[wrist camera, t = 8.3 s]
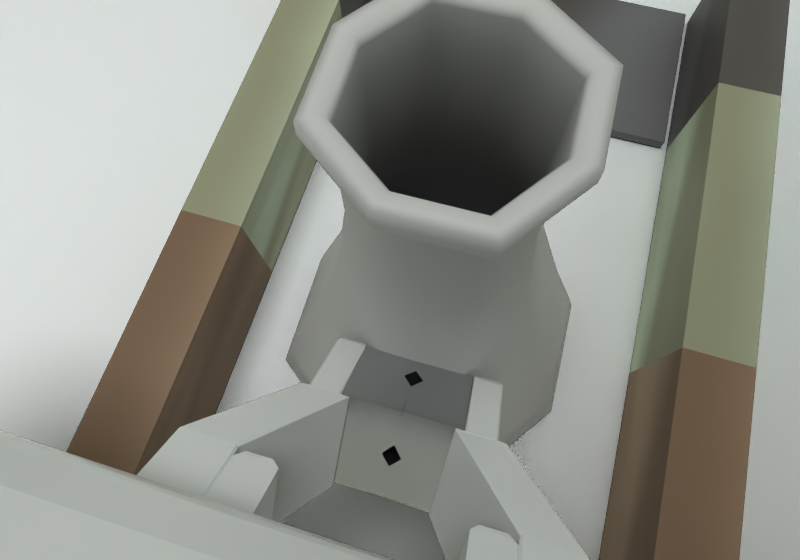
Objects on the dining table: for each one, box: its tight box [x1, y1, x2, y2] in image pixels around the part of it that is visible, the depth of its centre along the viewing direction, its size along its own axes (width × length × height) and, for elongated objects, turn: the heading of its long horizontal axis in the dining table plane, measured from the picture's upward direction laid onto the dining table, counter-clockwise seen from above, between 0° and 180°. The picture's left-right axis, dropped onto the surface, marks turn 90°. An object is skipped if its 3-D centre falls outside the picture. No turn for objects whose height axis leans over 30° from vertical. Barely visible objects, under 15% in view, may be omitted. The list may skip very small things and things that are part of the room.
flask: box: [286, 0, 624, 446], centre depth 10 cm, size 7×7×10 cm
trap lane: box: [67, 0, 790, 560], centre depth 13 cm, size 13×27×3 cm, turn 163°
